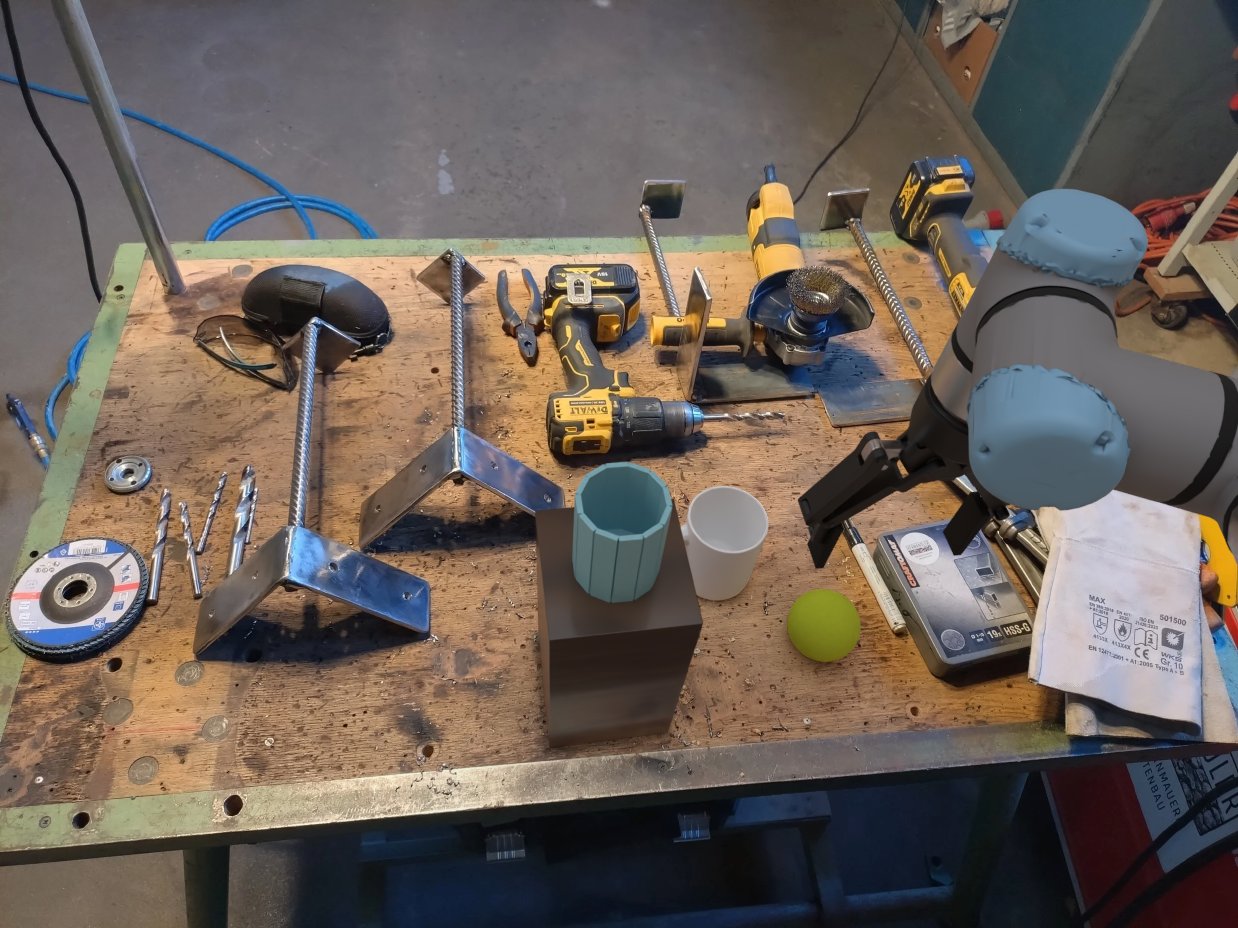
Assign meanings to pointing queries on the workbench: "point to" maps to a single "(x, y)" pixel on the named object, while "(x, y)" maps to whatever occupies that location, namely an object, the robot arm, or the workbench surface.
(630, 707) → the dark brown block
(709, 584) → the mug
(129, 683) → the workbench surface
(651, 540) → the tumbler
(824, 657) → the ball
